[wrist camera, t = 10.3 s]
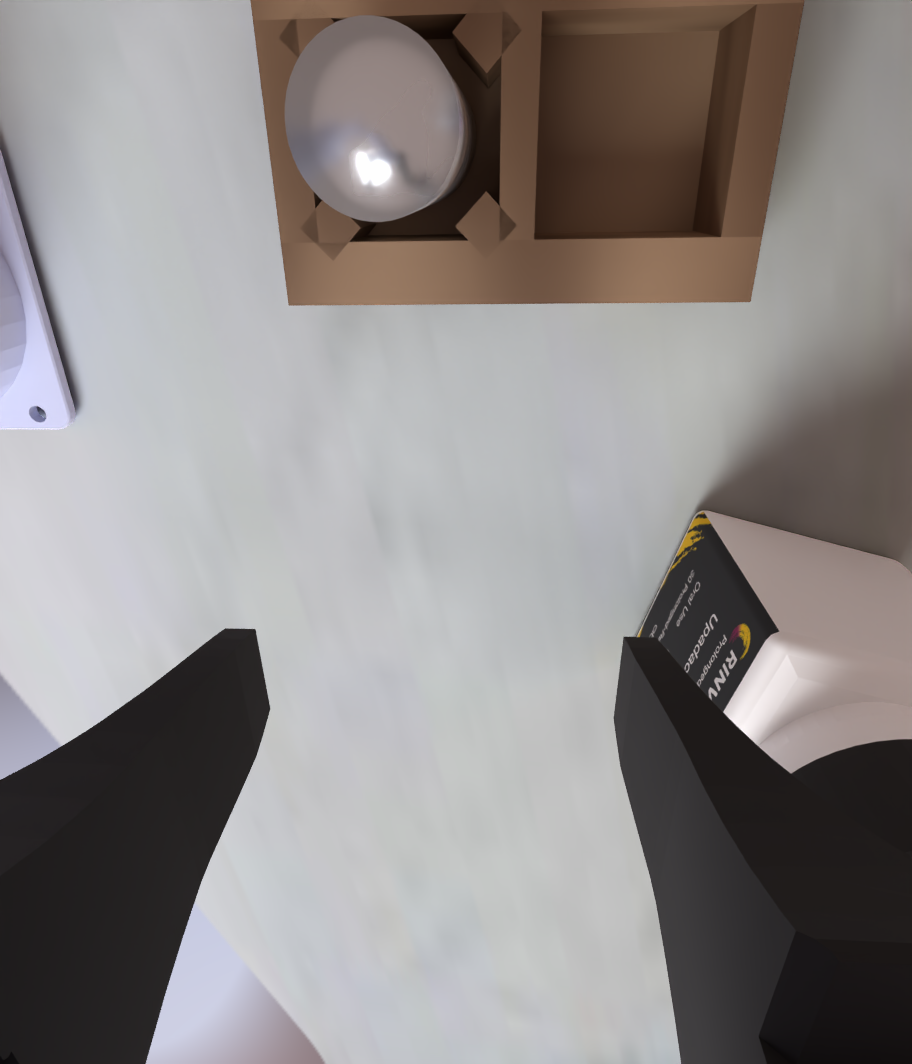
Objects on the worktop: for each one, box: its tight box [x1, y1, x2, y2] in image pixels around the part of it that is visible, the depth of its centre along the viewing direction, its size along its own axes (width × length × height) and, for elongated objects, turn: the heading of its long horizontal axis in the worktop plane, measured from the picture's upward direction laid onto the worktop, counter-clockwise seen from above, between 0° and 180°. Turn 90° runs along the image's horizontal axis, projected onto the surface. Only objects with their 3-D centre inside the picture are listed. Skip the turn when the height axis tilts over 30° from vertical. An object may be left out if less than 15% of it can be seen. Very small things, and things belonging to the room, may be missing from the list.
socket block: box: [251, 0, 804, 305], centre depth 16 cm, size 11×7×3 cm, turn 91°
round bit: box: [285, 15, 476, 222], centre depth 14 cm, size 3×3×6 cm
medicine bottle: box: [637, 511, 912, 857], centre depth 18 cm, size 7×7×12 cm
